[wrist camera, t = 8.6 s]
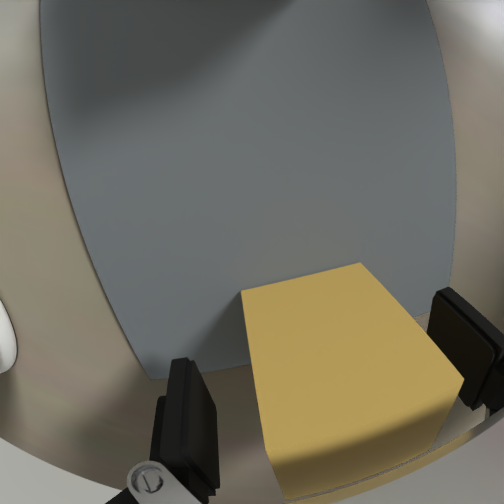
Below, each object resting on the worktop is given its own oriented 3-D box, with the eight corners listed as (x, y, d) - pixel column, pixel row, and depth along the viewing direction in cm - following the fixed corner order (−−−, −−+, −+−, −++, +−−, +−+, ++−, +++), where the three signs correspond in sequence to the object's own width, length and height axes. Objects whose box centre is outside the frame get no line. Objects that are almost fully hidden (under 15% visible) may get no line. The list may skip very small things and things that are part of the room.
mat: (365, -108, 4) (367, -112, 4) (442, 300, 14) (446, 304, 14) (50, -67, 4) (47, -70, 4) (151, 374, 14) (150, 380, 13)
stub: (360, 262, 12) (464, 379, 5) (360, 335, 13) (428, 450, 7) (240, 290, 12) (265, 451, 5) (259, 362, 13) (285, 499, 7)
